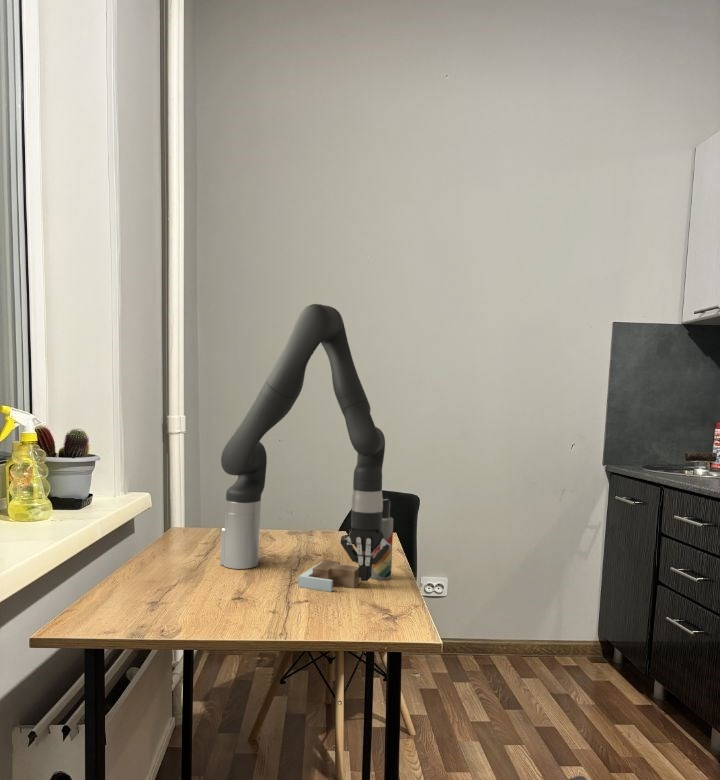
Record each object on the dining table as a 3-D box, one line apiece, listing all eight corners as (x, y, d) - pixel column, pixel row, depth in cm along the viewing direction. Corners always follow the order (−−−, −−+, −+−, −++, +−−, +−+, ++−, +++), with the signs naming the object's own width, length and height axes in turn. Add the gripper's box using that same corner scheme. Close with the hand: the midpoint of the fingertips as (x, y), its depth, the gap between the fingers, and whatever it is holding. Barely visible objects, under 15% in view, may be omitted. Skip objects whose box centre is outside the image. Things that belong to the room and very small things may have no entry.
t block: (312, 584, 140) (312, 568, 140) (324, 575, 148) (325, 560, 148) (350, 590, 137) (351, 573, 137) (361, 581, 144) (362, 565, 144)
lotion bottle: (389, 581, 145) (392, 501, 146) (367, 578, 146) (370, 499, 147) (392, 574, 151) (395, 497, 151) (371, 572, 152) (374, 496, 152)
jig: (297, 586, 138) (298, 576, 138) (320, 571, 151) (321, 561, 151) (330, 591, 135) (331, 581, 135) (351, 575, 148) (351, 565, 149)
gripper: (336, 508, 139) (333, 581, 139) (388, 513, 135) (386, 588, 134) (346, 503, 146) (344, 572, 146) (397, 508, 142) (395, 579, 141)
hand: (365, 580), depth 140 cm, fingers closed
